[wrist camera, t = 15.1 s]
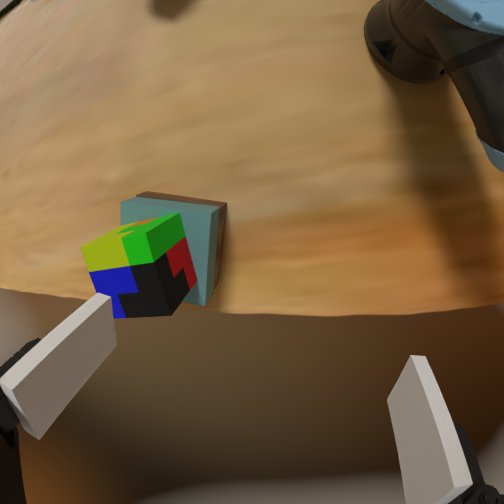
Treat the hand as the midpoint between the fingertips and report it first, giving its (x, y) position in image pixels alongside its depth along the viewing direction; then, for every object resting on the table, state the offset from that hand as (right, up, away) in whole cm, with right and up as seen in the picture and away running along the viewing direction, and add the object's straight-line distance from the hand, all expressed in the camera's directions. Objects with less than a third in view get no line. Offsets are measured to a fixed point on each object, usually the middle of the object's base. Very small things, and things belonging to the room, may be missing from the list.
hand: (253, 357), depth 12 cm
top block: (-12, +5, +35) cm, 38 cm away
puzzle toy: (-14, +4, +31) cm, 34 cm away
